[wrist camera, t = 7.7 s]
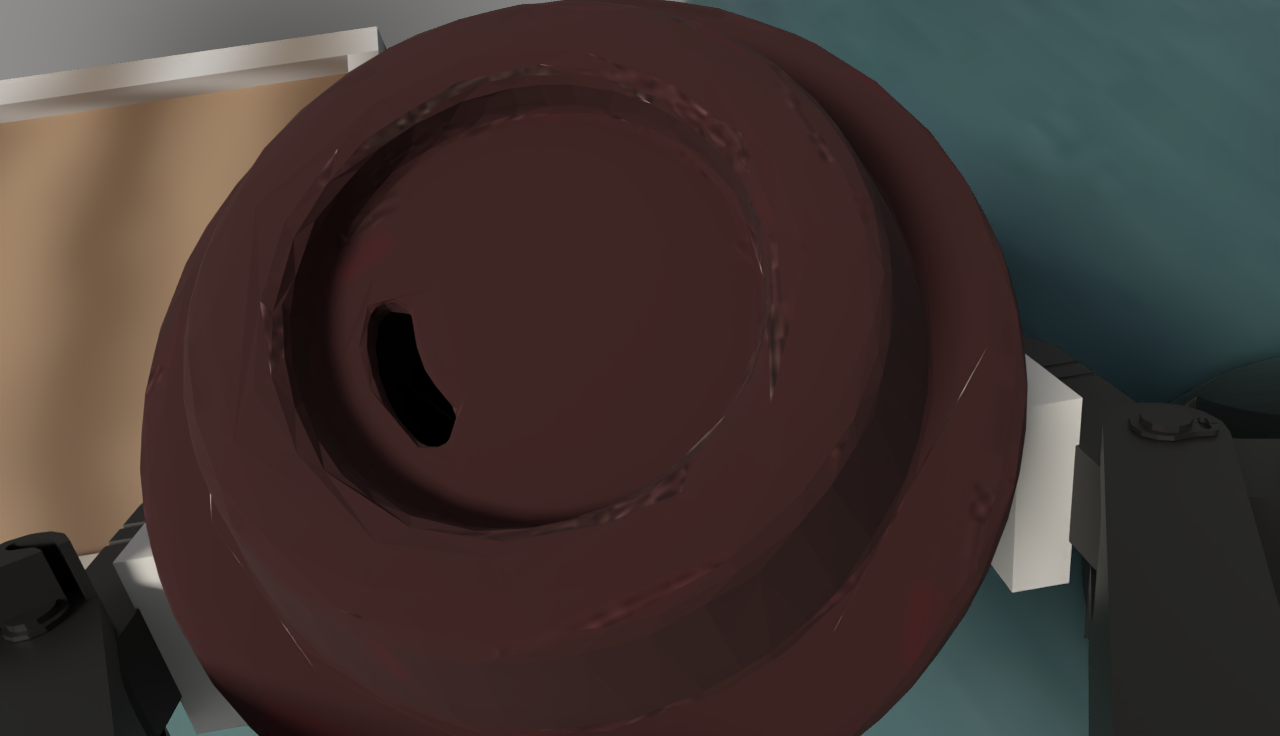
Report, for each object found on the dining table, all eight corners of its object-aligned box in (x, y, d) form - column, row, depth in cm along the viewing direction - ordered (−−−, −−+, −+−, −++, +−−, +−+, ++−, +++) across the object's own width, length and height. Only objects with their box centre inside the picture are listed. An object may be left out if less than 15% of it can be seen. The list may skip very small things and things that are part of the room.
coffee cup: (874, 372, 23) (1052, -139, 9) (869, 779, 19) (1151, 1006, 5) (517, 353, 24) (189, -103, 10) (454, 727, 21) (-160, 795, 7)
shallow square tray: (423, 135, 33) (376, 26, 28) (459, 571, 27) (408, 541, 22) (-17, 201, 32) (-153, 102, 27) (-83, 662, 26) (-276, 654, 21)
